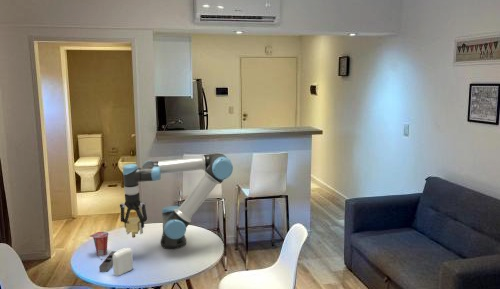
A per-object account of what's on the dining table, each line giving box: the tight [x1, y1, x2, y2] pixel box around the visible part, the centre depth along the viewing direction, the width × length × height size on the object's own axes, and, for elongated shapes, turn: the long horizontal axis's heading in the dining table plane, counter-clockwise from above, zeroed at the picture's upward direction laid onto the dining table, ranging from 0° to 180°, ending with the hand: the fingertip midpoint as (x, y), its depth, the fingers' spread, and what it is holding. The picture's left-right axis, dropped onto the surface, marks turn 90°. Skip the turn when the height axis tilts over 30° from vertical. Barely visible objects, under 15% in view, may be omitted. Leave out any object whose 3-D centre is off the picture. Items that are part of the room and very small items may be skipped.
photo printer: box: [112, 247, 134, 277], centre depth 210 cm, size 10×4×12 cm, turn 140°
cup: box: [89, 231, 109, 257], centre depth 230 cm, size 9×8×12 cm
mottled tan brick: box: [124, 216, 140, 238], centre depth 223 cm, size 6×9×8 cm
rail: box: [98, 250, 118, 273], centre depth 220 cm, size 18×4×3 cm, turn 178°
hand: (135, 233), depth 224 cm, fingers closed on mottled tan brick, 6 cm apart
